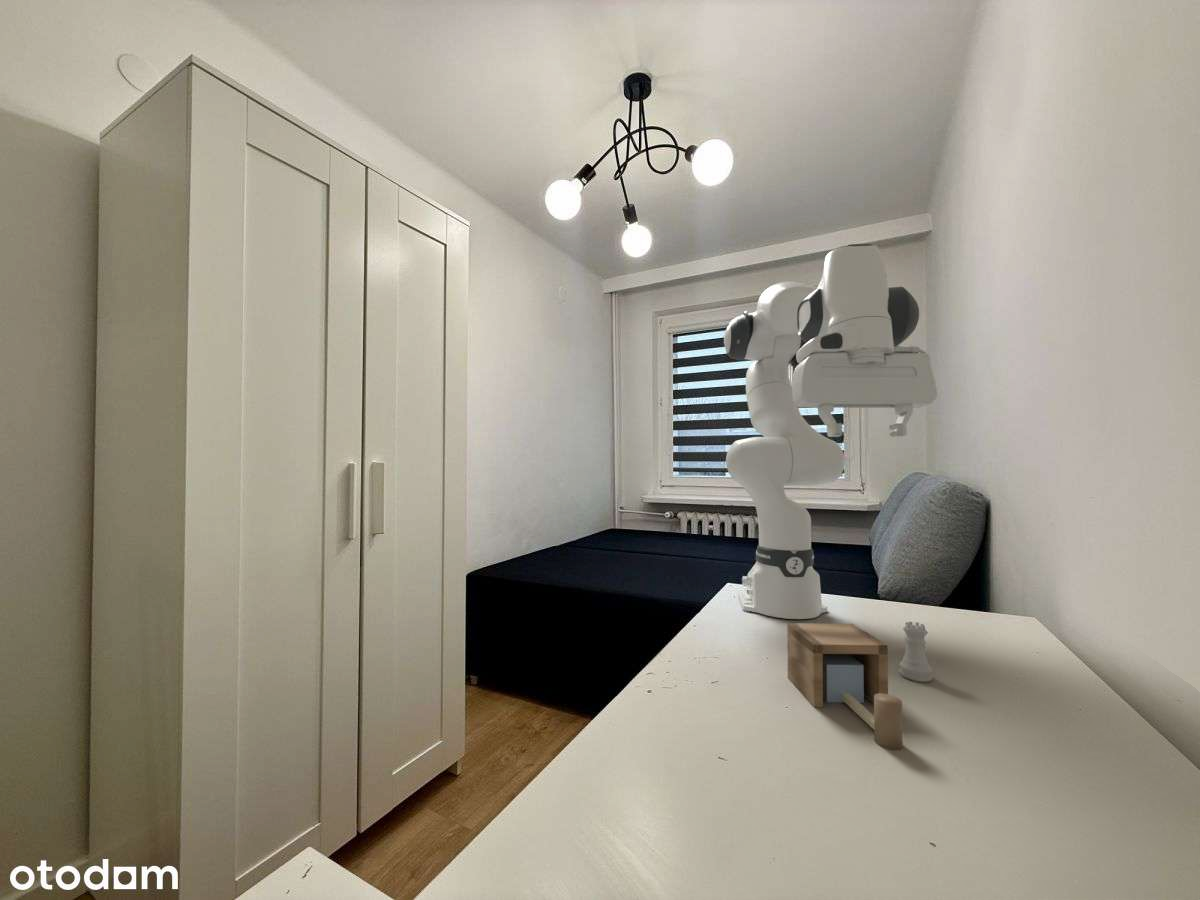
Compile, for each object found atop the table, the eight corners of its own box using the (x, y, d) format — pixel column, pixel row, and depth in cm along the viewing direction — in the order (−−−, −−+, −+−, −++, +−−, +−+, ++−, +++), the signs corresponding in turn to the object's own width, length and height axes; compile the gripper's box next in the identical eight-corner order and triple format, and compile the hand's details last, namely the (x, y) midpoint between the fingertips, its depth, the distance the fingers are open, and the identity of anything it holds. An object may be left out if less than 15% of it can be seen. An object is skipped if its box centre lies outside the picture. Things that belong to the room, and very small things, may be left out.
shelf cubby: (787, 677, 75) (787, 623, 75) (852, 678, 75) (852, 623, 75) (813, 706, 66) (813, 644, 66) (888, 707, 66) (887, 645, 66)
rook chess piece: (938, 684, 73) (938, 629, 73) (905, 681, 74) (904, 627, 74) (925, 672, 78) (924, 620, 78) (894, 669, 78) (893, 618, 79)
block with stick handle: (811, 686, 72) (811, 651, 73) (845, 686, 72) (845, 651, 73) (873, 749, 56) (872, 704, 56) (917, 749, 56) (916, 704, 56)
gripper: (914, 353, 78) (922, 439, 76) (785, 353, 78) (790, 439, 76) (942, 339, 72) (952, 432, 70) (802, 338, 72) (808, 432, 70)
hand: (866, 436), depth 73 cm, fingers open, 8 cm apart
